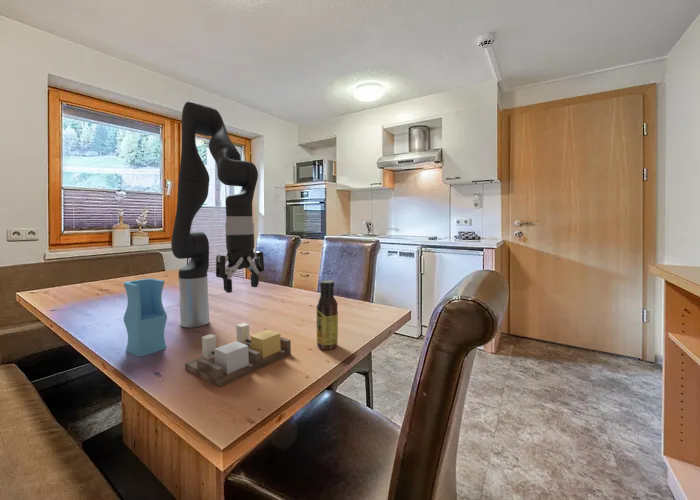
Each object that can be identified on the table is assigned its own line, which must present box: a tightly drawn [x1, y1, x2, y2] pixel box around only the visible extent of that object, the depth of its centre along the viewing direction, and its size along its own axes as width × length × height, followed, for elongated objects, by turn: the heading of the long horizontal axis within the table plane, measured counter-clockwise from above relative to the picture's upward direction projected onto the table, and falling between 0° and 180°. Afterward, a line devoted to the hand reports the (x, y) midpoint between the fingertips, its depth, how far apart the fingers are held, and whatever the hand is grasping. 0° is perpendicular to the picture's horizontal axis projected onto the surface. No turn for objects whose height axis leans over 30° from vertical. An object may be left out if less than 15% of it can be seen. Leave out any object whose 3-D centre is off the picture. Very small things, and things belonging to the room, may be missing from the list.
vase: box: [123, 278, 168, 357], centre depth 92 cm, size 8×8×20 cm
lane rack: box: [184, 336, 292, 388], centre depth 85 cm, size 15×22×4 cm
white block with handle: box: [201, 333, 249, 374], centre depth 81 cm, size 14×6×6 cm, turn 54°
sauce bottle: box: [316, 279, 339, 351], centre depth 94 cm, size 7×6×20 cm
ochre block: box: [236, 322, 281, 358], centre depth 90 cm, size 14×6×6 cm, turn 54°
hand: (241, 289), depth 92 cm, fingers open, 8 cm apart
